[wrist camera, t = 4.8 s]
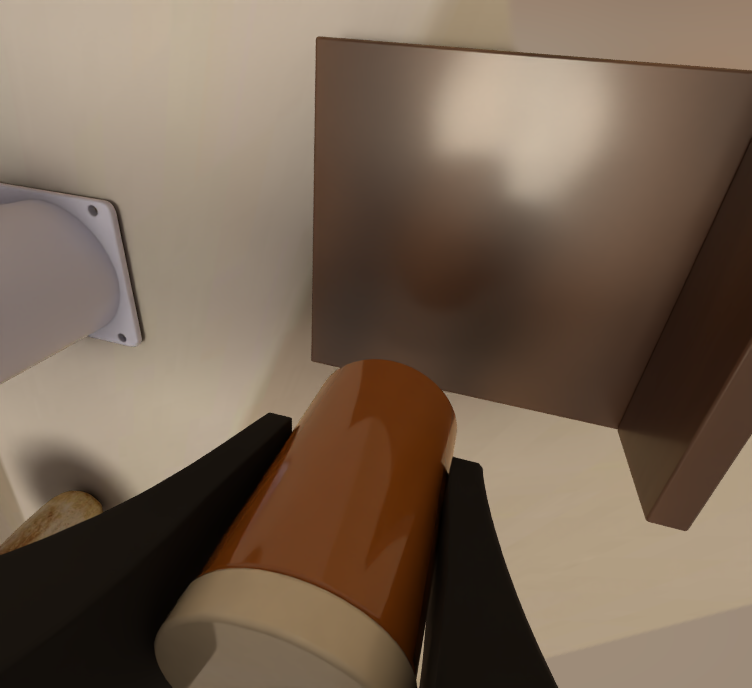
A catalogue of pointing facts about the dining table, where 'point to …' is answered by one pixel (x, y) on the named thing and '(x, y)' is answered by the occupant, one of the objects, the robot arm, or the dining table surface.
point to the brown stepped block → (545, 242)
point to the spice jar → (327, 547)
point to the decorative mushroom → (54, 518)
